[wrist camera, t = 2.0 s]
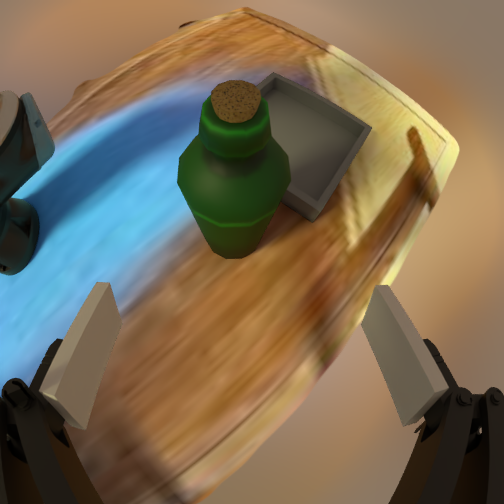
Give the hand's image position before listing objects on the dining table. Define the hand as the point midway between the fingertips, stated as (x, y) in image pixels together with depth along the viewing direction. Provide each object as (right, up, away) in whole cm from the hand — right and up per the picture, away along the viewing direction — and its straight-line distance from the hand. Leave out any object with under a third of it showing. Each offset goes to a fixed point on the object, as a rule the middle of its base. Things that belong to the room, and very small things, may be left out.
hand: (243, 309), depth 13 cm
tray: (+7, +22, +35) cm, 42 cm away
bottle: (-2, +6, +30) cm, 30 cm away
